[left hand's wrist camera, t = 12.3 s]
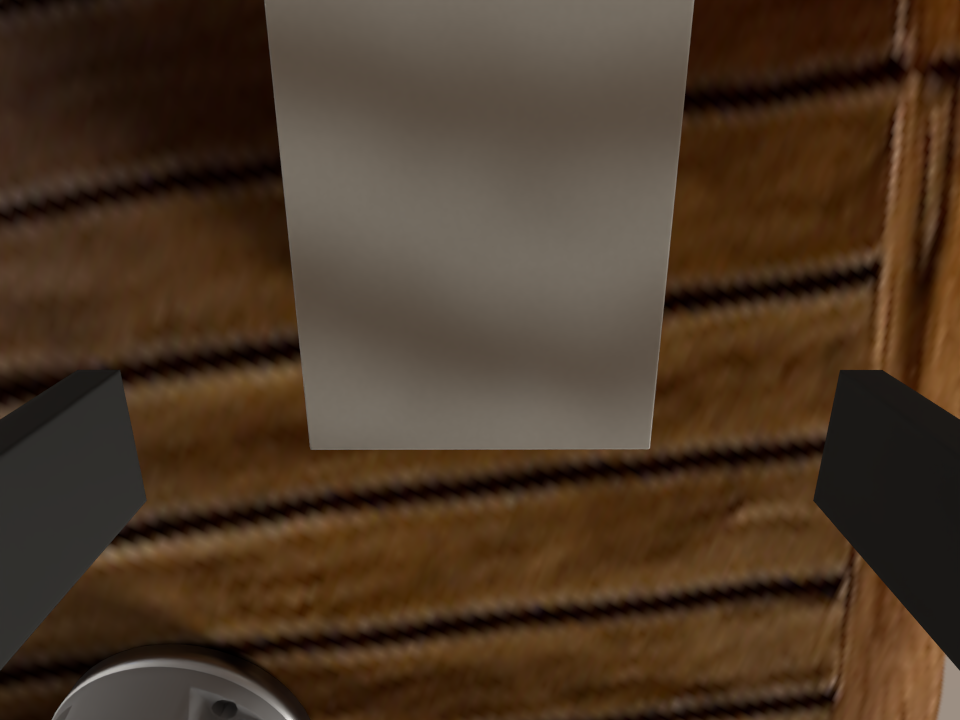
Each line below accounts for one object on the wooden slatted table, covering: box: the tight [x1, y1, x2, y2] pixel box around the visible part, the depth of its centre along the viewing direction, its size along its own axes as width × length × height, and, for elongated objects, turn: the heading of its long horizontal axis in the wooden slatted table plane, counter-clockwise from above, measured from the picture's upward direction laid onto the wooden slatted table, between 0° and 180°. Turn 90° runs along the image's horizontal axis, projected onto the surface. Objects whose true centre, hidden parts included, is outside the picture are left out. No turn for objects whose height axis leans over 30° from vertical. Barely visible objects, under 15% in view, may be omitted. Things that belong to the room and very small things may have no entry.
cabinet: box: [264, 0, 694, 450], centre depth 22 cm, size 21×11×11 cm, turn 0°
